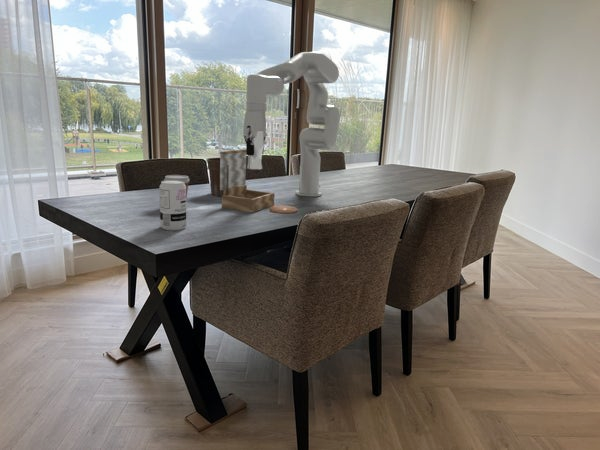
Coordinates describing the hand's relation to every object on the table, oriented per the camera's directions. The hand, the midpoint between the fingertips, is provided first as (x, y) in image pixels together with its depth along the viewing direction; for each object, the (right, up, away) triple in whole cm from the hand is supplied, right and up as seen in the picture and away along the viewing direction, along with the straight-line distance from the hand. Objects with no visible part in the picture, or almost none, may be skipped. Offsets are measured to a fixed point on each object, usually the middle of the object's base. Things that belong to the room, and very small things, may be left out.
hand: (255, 154), depth 178 cm
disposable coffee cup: (-30, -21, -3) cm, 37 cm away
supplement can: (-23, -29, -33) cm, 50 cm away
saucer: (+11, -22, +2) cm, 25 cm away
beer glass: (0, -6, +2) cm, 6 cm away
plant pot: (-17, -14, +28) cm, 35 cm away
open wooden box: (-3, -20, +6) cm, 21 cm away
